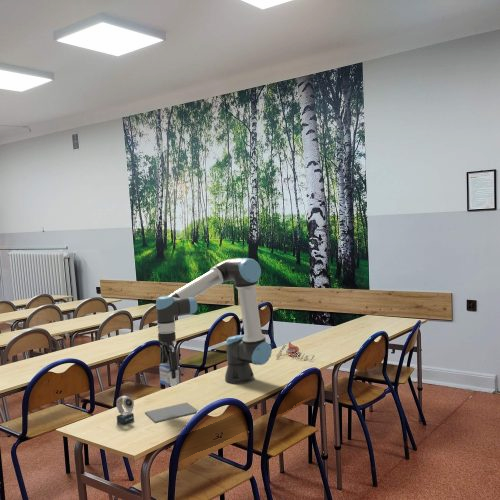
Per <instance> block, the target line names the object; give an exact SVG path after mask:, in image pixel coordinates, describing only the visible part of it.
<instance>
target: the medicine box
mask: <svg viewBox="0 0 500 500" xmlns="http://www.w3.org/2000/svg"><path fill="white" fill-rule="evenodd" d="M158 367H159V383H160V384H161V385H165V386H170V372H169V370H170V366H169V362H168V363H163V364H160V363H159V366H158ZM176 379H177V385H179V384H180V372H179V369H178V370H176ZM170 387H171V386H170Z"/></svg>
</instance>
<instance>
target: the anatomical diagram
mask: <svg viewBox="0 0 500 500" xmlns="http://www.w3.org/2000/svg"><path fill="white" fill-rule="evenodd" d="M284 350H285V353H286V354H287V355H289V354H290V356H291V357H292V358H293V359H296V358H297V359H298V360H300V359H301V360H302V359H303V357H304V356H305V357H304V359H306V360H307V359H308V357H309V355H308V354H305V353H304V351H303V350H301V351H302V353H301V352H300V348H299V347H298V346H297V345H294V344H292V343H291V341H289V342H288V347H286V345H285V344H283V346H282V347H281V349H280V350H279V352H278V353H277V354H276V358H277V359H278V358H280V357H281V356H282V352H283V351H284ZM292 352H294V353H292ZM295 352H296V353H297V354H296V353H295ZM298 354H299V356H297V355H298ZM301 355H302V357H301ZM294 356H295V357H294ZM314 357H315V355H312V357H311V359H310V361H311V360H314Z"/></svg>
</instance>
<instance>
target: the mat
mask: <svg viewBox="0 0 500 500" xmlns="http://www.w3.org/2000/svg"><path fill="white" fill-rule="evenodd" d="M197 411H199V410H198V409H197V408H195V407H194V406H193V405H191V404H190V403H188V402H183V403H182V402H181V403H179V404H175V405H170V406H166V407H161V408H156V409H152V410H147V411H145V412H144V414H145V415H146V416H147V417H148V418H150V419H151V420H152V422H153V423H160V422H164V421H169V420H172V419H177V418H181V417H185V416H189V415H194V414H197V413H196V412H197Z"/></svg>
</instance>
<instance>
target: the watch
mask: <svg viewBox="0 0 500 500" xmlns="http://www.w3.org/2000/svg"><path fill="white" fill-rule="evenodd" d="M121 401H122V402H121ZM134 402H135V401H134V400H133V398H132V397H129V395H128V396H127V395H121V396H120V397H118V398H117V399H116V408H117V411H118V413H119V414H118V415H116V423H117V425H123V426H125V425H128V424H129V423H132V422H134V421H135V418H134V417H135V415H134V413H133V410H134V406H135V405H134V404H135V403H134ZM124 408H125V409H124ZM125 410H126V411H125Z"/></svg>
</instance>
